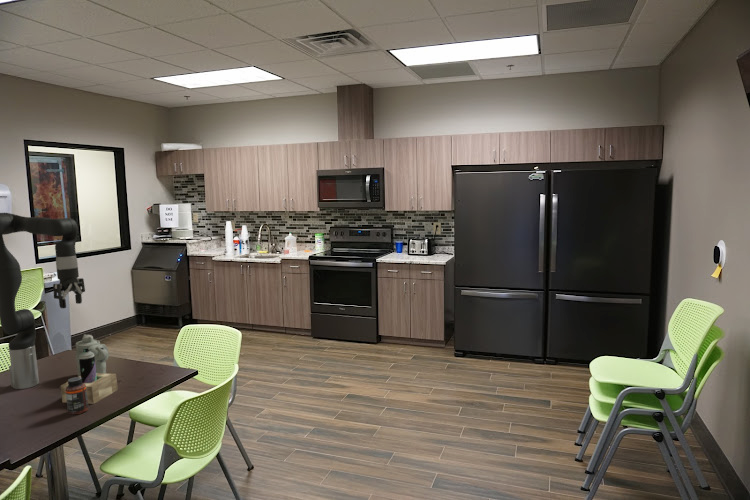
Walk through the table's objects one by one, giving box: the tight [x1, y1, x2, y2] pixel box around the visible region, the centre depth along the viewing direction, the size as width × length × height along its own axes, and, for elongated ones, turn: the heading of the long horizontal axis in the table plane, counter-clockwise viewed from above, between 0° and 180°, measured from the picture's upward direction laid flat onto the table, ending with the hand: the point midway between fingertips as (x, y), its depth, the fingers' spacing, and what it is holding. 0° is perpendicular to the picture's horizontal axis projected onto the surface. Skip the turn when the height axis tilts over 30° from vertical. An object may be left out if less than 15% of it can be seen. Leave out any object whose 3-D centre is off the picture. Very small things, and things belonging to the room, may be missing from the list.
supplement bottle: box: [66, 376, 89, 416], centre depth 191 cm, size 7×7×13 cm
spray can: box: [79, 348, 97, 383], centre depth 206 cm, size 6×6×20 cm
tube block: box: [60, 373, 118, 405], centre depth 207 cm, size 14×14×7 cm
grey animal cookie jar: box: [74, 334, 110, 377], centre depth 229 cm, size 16×15×19 cm
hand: (71, 305), depth 210 cm, fingers open, 8 cm apart
